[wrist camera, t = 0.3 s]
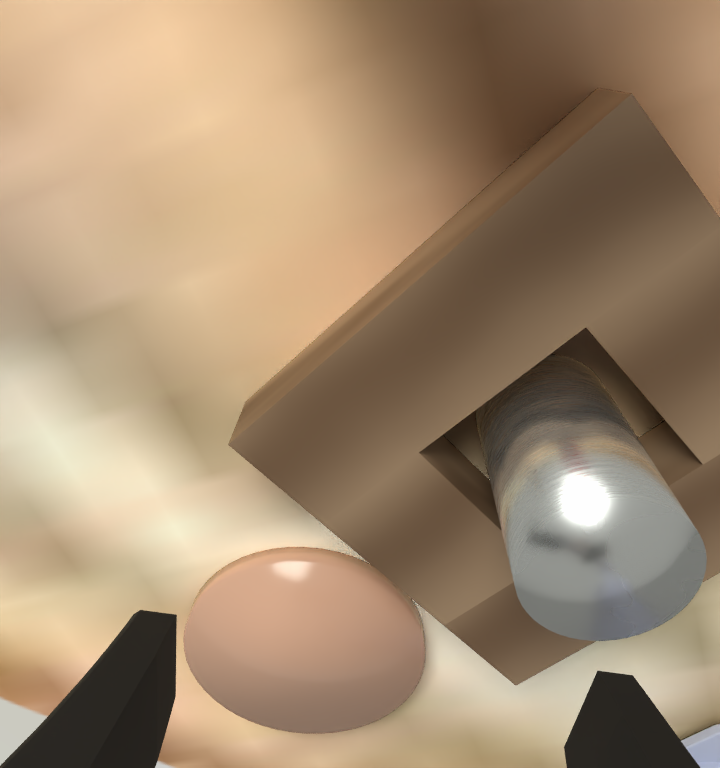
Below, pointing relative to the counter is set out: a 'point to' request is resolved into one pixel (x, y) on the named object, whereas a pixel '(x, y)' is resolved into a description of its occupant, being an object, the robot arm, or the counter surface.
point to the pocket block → (506, 367)
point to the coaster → (305, 640)
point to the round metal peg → (585, 508)
